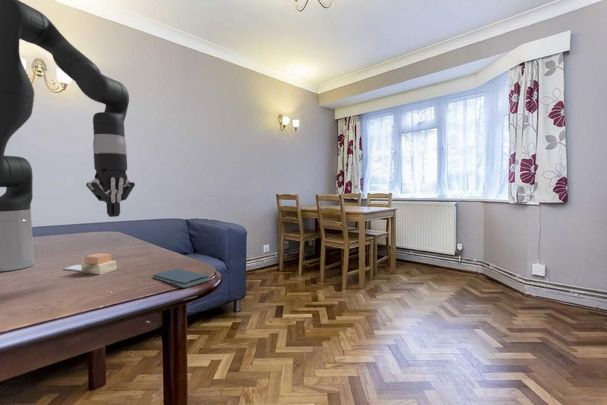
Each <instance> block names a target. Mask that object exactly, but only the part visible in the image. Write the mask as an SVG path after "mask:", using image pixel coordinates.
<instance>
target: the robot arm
mask: <svg viewBox="0 0 607 405" xmlns="http://www.w3.org/2000/svg"><path fill="white" fill-rule="evenodd" d="M20 40H21V41H24V42H26V43H29V44H33V45H36V46H37V47H40V48H41V49H43V50H44V51H46V52H48V53H49V54H51V56H52V59H53V61H54V63H55V64H56V66H57V67H58V68H59V69H60V70H61V71H62V72H63V73H65V74H66V75H67V76H68V77H69V78H70V79H71V80H73V81H74V82H75V84H76V85H77V86H78V88H79V89H80V91H81V92H82V93H83V94H84V95H85V97H87V98H88V99H91V100H92V101H94V102H97V103H100V104H103V105H105V107H104V111H103V112H102V111H101V112H96V113H95V114H94V115H93V116H92V126H93V129H92V130H93V140H92V147H93V148H92V149H93V166H94V170H95V175H94V179H93V180H91V181H89V182H86V185H85V186H86V187H87V188H88V190H89V191H90V192H91V193H92V194H93V196H95V198H96V199H97V200H98V201H100V202H103V203H105V205H106V213H107V214H106V215H107V216H108V218H109V217H111V218H115V217H116V218H117V217H119V216H120V214H121V202H123V201H126V200H127V199H128V197H129V195H130V194H131V192H132V191H133V189H134V187H135V186H136V183H135V182H133V181H132V182H131V181H130V180H129V179H128V175H127V173H126V171H127V170H128V152H127V142H126V136H125V135H126V134H125V119H126V116H127V111H128V107H129V104H130V94H129V91H128V89H127V87H126V86H125V84H123V83H122V82H120V81H117V80H115V79H113V78H111V77H109V76H106V75H104V74H103V73H101V72H102V71H101V70H100V68H99V66H97V65H96V63H94V62H93V61H92V60H91V59H90V58H89V57H87V56H86V55H85V54H83V53H82V52H81V51H80V50H78V49H77V48H76V47H75V46H74V45H73V44H72V43H70V42H69V41H68V39H66V37H65V36H64V35H63V34H62V33H61V32H60V31H59V29H58V28H57V27H56V26H55V24H53V22H52V21H51V20H50V19H49V18H48V17H47V16H46V15H45V14H44V13H42V12H41V11H39V10H37V9H35V8H34V7H32V6H30V5H28V4H27V3H24V2H23V1H21V0H0V188H5V192H4V193H3V194H2V195H0V272H8V271H9V272H10V271H16V270H21V269H27V268H30V267H33V266H34V265H35V257H34V256H35V255H34V239H33V238H34V237H33V221H32V212H31V208H32V207H31V203H32V201H33V181H34V180H33V170H32V169H33V168H32V166H31V164H30V162H29V160H28V159H26V158H25V157H21V156H16V155H5V151H6V148H7V144H8V142H9V140H10V139H11V137H12V136H13V135H14V134H15V133H16V132H17V131H18V130H19V129H20V128H21V127H22V126H24V125H25V123H27V121H28V120H29V119H30V118H31V117H32V113H33V107H34V102H35V101H34V100H35V90H34V86H33V83H32V81H31V79H30V77H29V75H28V73H27V71H26V69H25V67H24V64H23V63H22V60H21V56H20V55H21V54H20Z"/></svg>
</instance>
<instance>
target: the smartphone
mask: <svg viewBox="0 0 607 405" xmlns="http://www.w3.org/2000/svg"><path fill="white" fill-rule="evenodd" d="M152 277H154V278H153V279H155V278H157V279H156V280H158V279H160V280H159V281H161V280H163V281H166V282H168V283H167V284H169V283H171V284H170V285H172V284H173V285H172V286H176V287H179V288H183V289H185V288H191V287H193V286H196V285H199V284H202V283H203V284H204V283H205V282H208V281H210V276H209V275H208V274H204V273H199V272H195V271H190V270H186V269H182V268H174V269H170V270H166V271H162V272H159V273H155V274H153V275H152ZM163 281H162V282H163ZM166 282H165V283H166Z"/></svg>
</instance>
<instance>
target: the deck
mask: <svg viewBox="0 0 607 405" xmlns="http://www.w3.org/2000/svg"><path fill="white" fill-rule="evenodd" d="M80 265H81V268H82V272H81V273H85V274H93V275H103V274H106V273H109V272H112V271H116V270H117V269H118V267H117V260H112V261H110V262H106V263H102V264H99V265H96V264H87V263H85V262H82V263H80Z"/></svg>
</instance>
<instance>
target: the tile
mask: <svg viewBox="0 0 607 405" xmlns="http://www.w3.org/2000/svg"><path fill="white" fill-rule="evenodd" d="M110 261H113V260H112V254H111V253H101V252H98V253H93V254H92V253H91V254H90V255H85V256H84V263H87V264H96V265H99V264H102V263H106V262H110Z"/></svg>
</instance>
